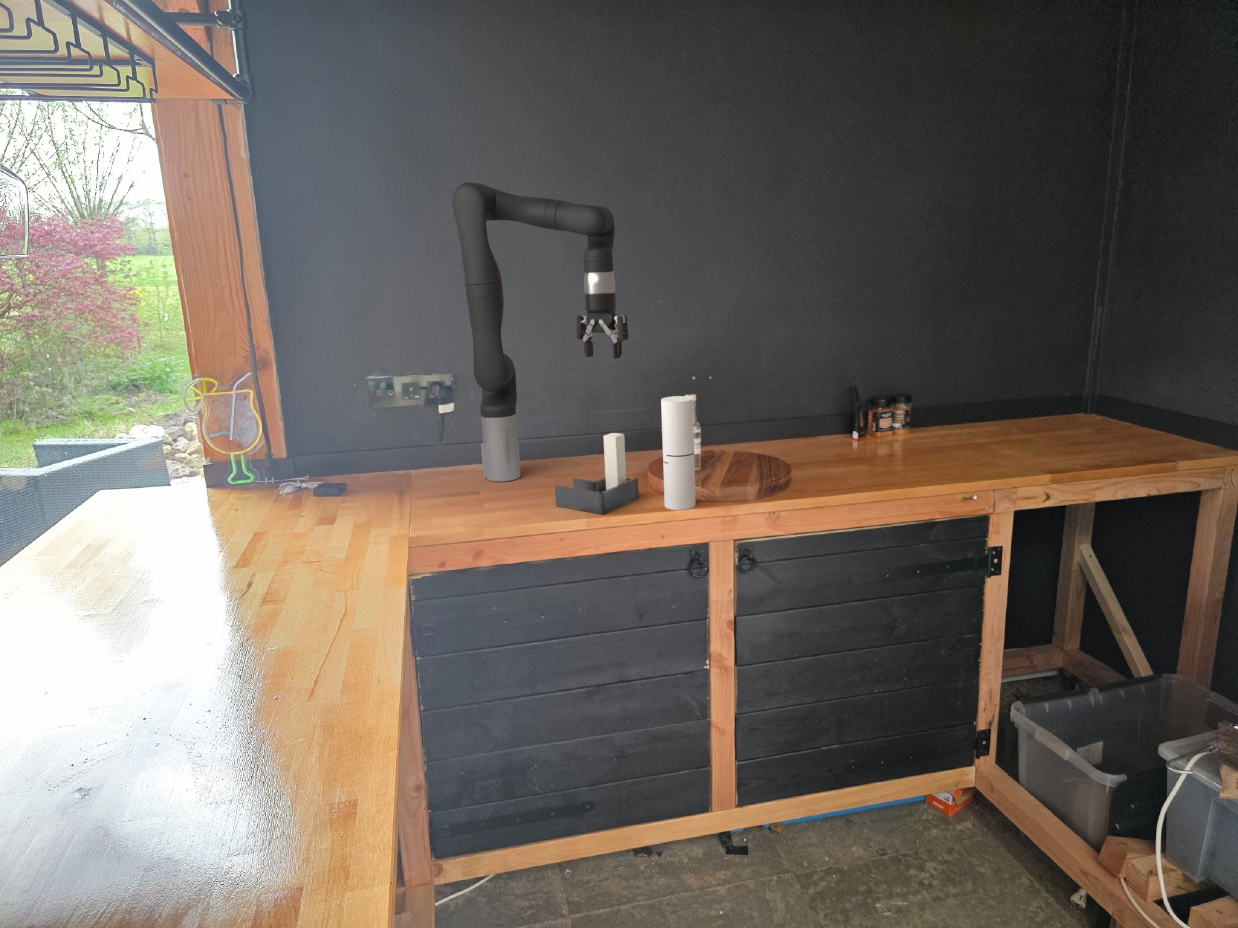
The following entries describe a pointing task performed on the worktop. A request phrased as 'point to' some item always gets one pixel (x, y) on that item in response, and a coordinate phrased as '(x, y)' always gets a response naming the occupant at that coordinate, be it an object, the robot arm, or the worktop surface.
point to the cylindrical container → (678, 452)
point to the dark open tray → (596, 495)
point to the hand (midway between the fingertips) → (603, 357)
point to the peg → (614, 459)
